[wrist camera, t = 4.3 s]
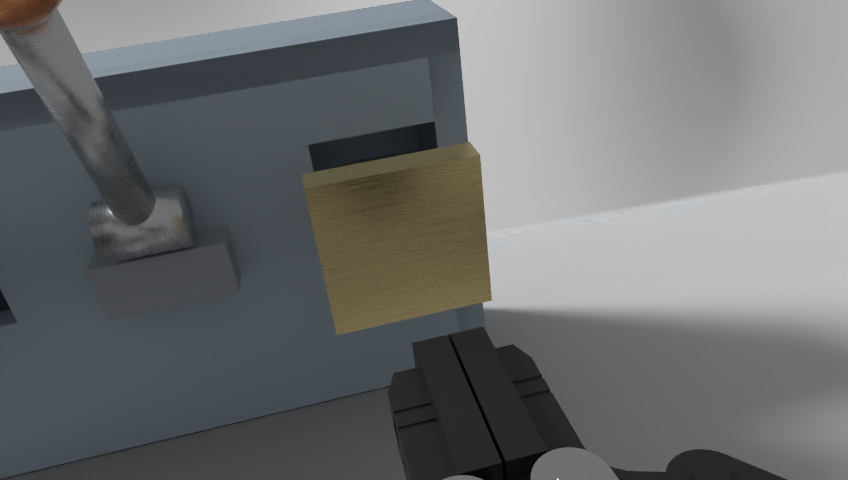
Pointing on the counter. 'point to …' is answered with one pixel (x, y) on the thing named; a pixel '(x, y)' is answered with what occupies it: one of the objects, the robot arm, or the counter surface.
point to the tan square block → (400, 235)
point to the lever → (95, 139)
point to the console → (209, 231)
